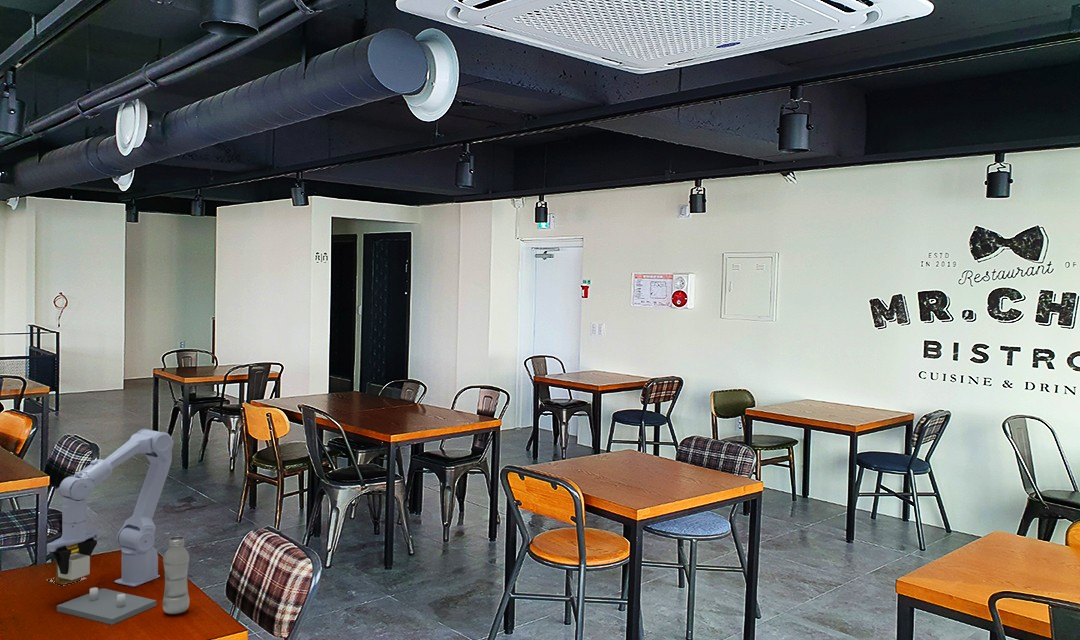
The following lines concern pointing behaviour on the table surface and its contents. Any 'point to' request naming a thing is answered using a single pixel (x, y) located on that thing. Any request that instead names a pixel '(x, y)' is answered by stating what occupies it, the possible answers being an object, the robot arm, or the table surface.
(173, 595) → the plastic bottle
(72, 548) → the condiment
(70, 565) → the collar
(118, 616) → the pin board
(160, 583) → the table surface
